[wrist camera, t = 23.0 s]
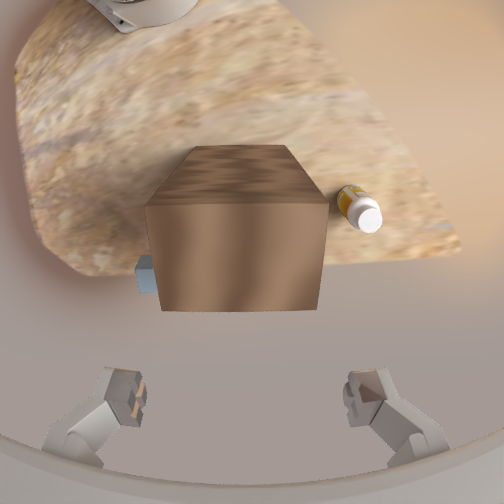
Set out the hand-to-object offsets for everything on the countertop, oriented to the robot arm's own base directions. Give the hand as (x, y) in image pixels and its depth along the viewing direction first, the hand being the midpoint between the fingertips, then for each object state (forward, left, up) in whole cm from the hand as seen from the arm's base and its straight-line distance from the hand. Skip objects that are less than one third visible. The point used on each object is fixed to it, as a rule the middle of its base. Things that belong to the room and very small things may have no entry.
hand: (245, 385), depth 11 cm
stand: (+2, -6, -42) cm, 43 cm away
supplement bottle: (+18, +6, -43) cm, 47 cm away
